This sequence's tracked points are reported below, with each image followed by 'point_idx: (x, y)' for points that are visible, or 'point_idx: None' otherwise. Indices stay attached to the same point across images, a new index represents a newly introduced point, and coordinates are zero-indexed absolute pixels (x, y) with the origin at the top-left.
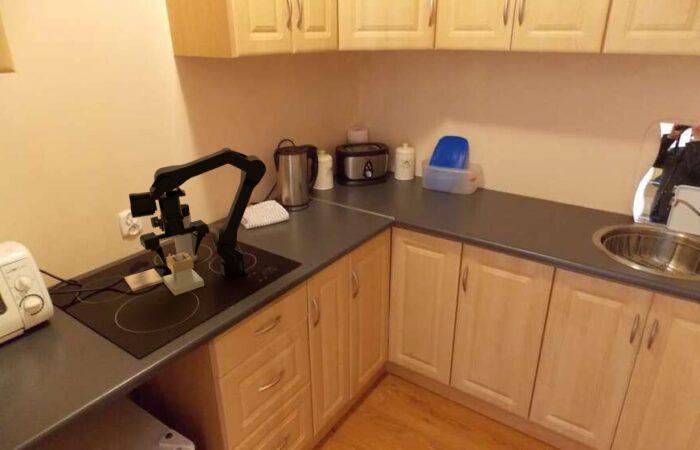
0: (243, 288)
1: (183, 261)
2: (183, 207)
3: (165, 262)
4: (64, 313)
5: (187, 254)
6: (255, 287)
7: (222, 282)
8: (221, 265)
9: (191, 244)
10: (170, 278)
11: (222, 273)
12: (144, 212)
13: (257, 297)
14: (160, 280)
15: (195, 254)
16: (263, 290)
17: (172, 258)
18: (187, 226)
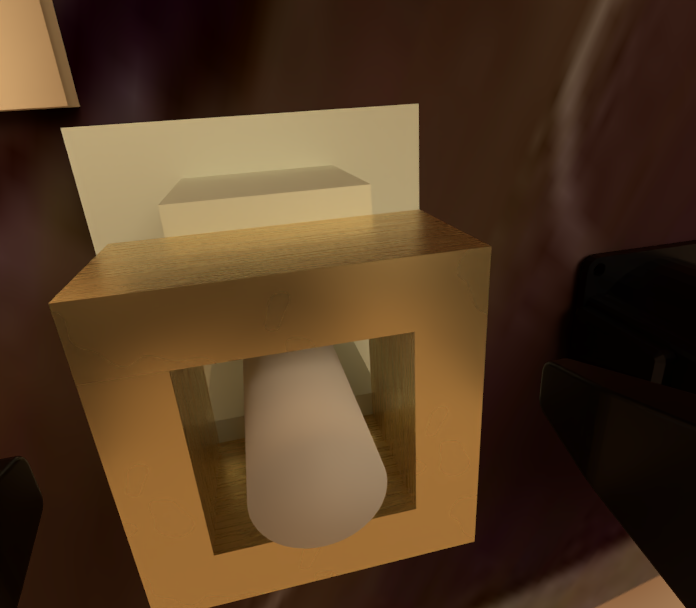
0: (567, 508)
1: (334, 573)
2: None
3: (23, 571)
4: None
5: (473, 378)
6: (615, 521)
7: (518, 393)
8: (638, 374)
9: None
10: (152, 229)
11: (580, 334)
12: None
13: (565, 602)
14: (40, 107)
15: (565, 430)
16: (622, 558)
17: (195, 352)
18: None
